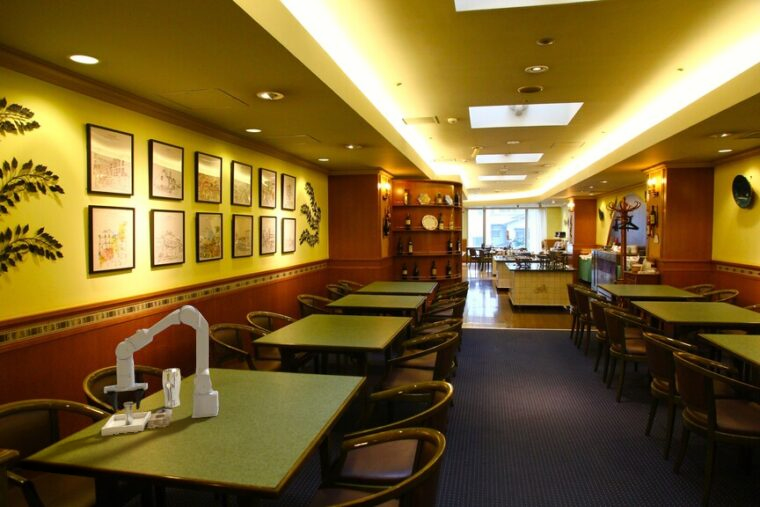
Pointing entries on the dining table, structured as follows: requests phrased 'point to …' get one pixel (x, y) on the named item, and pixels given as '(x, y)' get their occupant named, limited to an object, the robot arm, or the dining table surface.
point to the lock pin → (128, 413)
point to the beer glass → (171, 387)
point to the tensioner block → (160, 418)
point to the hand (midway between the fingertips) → (126, 409)
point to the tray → (118, 423)
